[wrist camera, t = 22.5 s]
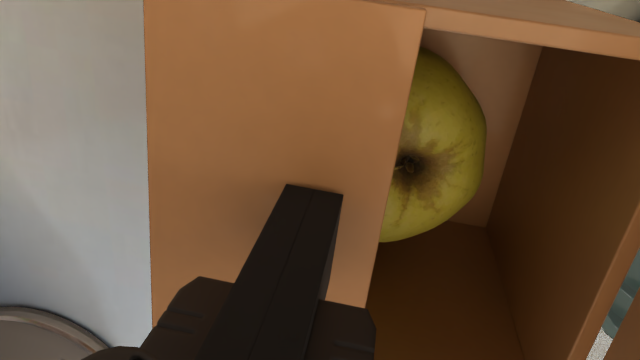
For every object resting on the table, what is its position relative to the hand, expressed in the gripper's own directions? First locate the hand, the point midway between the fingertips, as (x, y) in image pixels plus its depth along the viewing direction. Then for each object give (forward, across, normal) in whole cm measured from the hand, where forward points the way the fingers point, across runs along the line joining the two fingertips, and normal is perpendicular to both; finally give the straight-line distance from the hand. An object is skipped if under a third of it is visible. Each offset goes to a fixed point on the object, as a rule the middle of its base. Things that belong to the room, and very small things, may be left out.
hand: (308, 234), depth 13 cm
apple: (+13, +2, 0) cm, 13 cm away
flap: (+1, -1, 0) cm, 1 cm away
